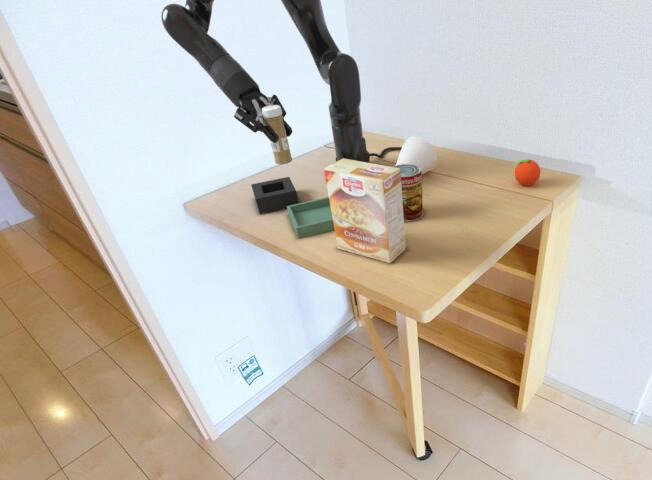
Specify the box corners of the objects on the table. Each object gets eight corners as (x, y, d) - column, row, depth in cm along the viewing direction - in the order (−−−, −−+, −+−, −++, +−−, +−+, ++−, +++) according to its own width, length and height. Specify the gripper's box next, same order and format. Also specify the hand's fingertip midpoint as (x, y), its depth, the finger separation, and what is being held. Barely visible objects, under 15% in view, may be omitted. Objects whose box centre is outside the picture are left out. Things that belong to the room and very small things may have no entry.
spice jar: (295, 161, 112) (283, 106, 104) (278, 166, 110) (264, 110, 102) (288, 157, 115) (276, 103, 107) (272, 161, 114) (258, 106, 105)
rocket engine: (384, 163, 117) (417, 128, 126) (365, 181, 127) (397, 148, 136) (414, 195, 120) (444, 159, 129) (392, 210, 130) (422, 176, 139)
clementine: (508, 188, 123) (510, 163, 118) (511, 178, 128) (513, 154, 123) (537, 190, 120) (541, 165, 116) (539, 180, 125) (543, 156, 121)
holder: (292, 191, 131) (289, 176, 128) (299, 205, 123) (296, 190, 120) (255, 198, 128) (251, 184, 125) (259, 214, 120) (255, 199, 117)
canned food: (401, 224, 110) (398, 178, 103) (387, 212, 116) (383, 168, 108) (428, 216, 113) (427, 171, 105) (413, 204, 118) (411, 161, 111)
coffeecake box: (336, 249, 103) (322, 168, 91) (354, 235, 107) (342, 157, 95) (390, 264, 96) (382, 180, 84) (406, 249, 101) (401, 166, 89)
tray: (344, 203, 122) (342, 193, 120) (358, 223, 112) (357, 213, 110) (288, 215, 118) (286, 206, 116) (298, 238, 108) (295, 228, 106)
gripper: (215, 76, 98) (269, 137, 101) (260, 63, 108) (308, 118, 110) (207, 100, 104) (258, 156, 106) (250, 85, 113) (296, 137, 116)
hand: (283, 137), depth 108 cm, fingers closed on spice jar, 4 cm apart
